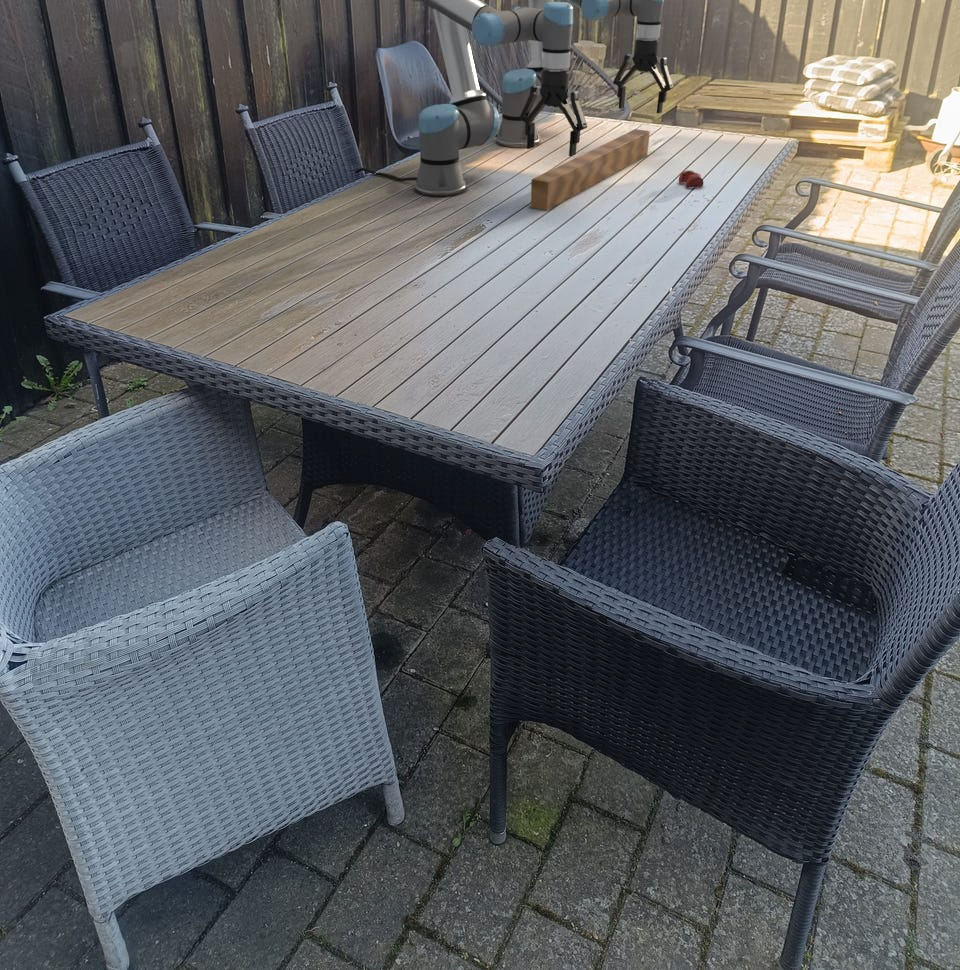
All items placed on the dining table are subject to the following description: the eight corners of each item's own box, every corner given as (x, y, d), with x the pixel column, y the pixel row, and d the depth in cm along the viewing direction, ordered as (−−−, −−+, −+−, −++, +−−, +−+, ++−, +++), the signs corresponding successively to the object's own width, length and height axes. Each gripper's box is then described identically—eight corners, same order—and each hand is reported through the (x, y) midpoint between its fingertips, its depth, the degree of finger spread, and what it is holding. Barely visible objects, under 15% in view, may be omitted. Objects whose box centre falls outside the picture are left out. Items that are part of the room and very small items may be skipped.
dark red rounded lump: (694, 166, 263) (706, 173, 257) (693, 180, 266) (704, 187, 260) (677, 168, 262) (689, 175, 256) (676, 182, 265) (687, 189, 259)
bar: (546, 210, 242) (548, 182, 238) (530, 207, 245) (531, 179, 240) (647, 155, 291) (649, 131, 286) (632, 153, 293) (635, 128, 289)
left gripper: (603, 71, 222) (596, 155, 235) (522, 61, 233) (520, 142, 246) (590, 76, 217) (584, 161, 230) (508, 66, 228) (506, 147, 241)
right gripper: (688, 40, 265) (679, 112, 278) (616, 34, 276) (610, 104, 289) (680, 43, 260) (671, 117, 273) (606, 37, 271) (601, 108, 283)
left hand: (551, 151), depth 238 cm, fingers open, 13 cm apart
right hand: (640, 110), depth 281 cm, fingers open, 13 cm apart
